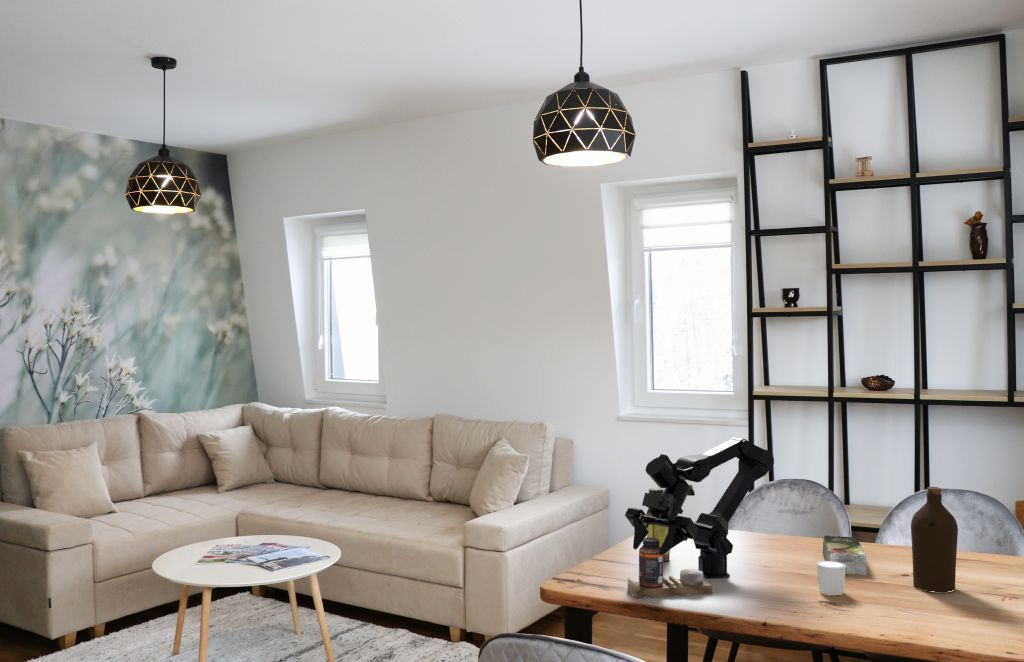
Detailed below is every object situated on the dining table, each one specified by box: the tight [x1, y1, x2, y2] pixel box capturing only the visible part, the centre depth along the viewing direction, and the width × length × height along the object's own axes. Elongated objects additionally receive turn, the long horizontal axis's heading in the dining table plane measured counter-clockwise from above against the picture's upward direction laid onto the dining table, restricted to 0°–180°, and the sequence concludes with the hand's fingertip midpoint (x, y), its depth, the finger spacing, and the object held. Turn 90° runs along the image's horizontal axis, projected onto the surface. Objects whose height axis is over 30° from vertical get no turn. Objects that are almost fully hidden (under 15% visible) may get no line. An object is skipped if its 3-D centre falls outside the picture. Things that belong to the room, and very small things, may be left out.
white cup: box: [816, 560, 847, 596], centre depth 216 cm, size 7×7×7 cm
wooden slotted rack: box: [627, 568, 713, 599], centre depth 217 cm, size 20×6×4 cm, turn 101°
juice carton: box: [822, 535, 868, 576], centre depth 240 cm, size 20×10×6 cm, turn 166°
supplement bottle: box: [638, 536, 664, 588], centre depth 216 cm, size 6×6×11 cm
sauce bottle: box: [645, 487, 671, 562], centre depth 246 cm, size 6×6×20 cm
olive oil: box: [910, 486, 959, 592], centre depth 219 cm, size 11×11×25 cm
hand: (647, 551), depth 215 cm, fingers open, 7 cm apart
